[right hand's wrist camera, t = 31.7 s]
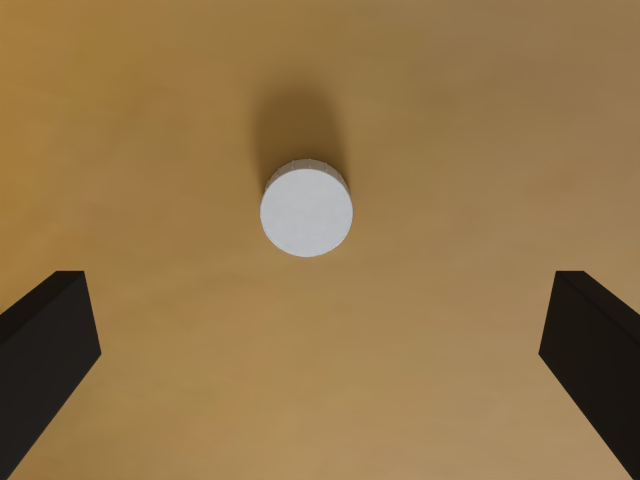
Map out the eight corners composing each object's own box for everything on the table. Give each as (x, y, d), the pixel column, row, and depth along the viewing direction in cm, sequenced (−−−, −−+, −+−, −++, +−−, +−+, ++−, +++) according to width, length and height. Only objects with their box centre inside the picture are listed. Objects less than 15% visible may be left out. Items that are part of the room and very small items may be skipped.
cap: (368, 196, 22) (373, 210, 20) (311, 257, 24) (311, 275, 22) (302, 139, 21) (301, 147, 19) (245, 205, 22) (239, 219, 20)
